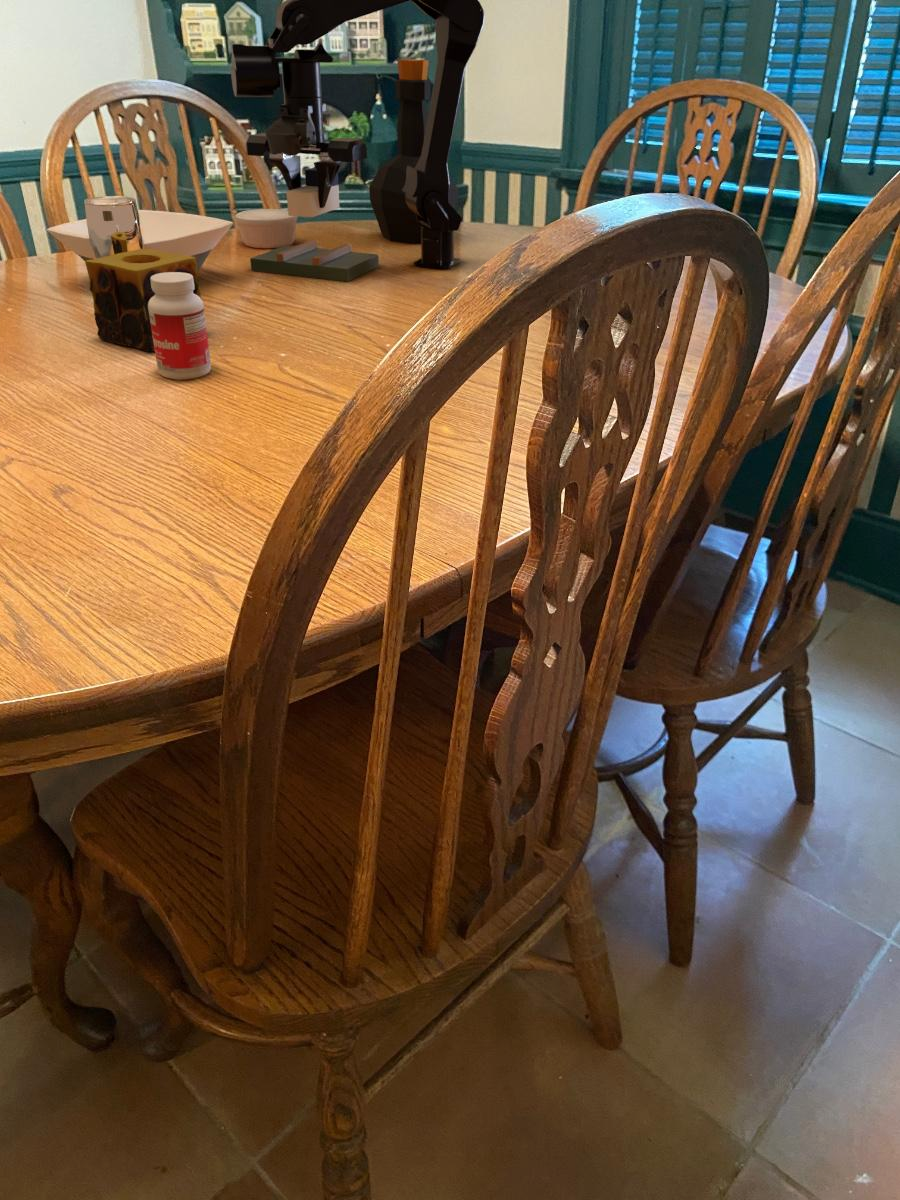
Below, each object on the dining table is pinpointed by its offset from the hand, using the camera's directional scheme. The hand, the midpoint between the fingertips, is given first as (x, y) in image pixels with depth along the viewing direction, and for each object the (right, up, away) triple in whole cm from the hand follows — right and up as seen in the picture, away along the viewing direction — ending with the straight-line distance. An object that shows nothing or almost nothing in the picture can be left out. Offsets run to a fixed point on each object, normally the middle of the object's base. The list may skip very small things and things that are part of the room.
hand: (309, 206), depth 147 cm
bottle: (+16, +7, +31) cm, 36 cm away
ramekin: (-11, +3, +24) cm, 26 cm away
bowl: (-25, -13, -2) cm, 28 cm away
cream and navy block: (+1, 0, +2) cm, 2 cm away
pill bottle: (-9, -37, -39) cm, 54 cm away
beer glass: (-23, -23, -18) cm, 37 cm away
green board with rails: (0, -7, +7) cm, 10 cm away
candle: (-16, -29, -27) cm, 43 cm away
